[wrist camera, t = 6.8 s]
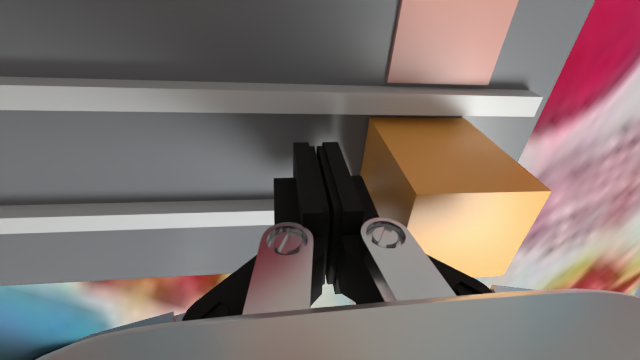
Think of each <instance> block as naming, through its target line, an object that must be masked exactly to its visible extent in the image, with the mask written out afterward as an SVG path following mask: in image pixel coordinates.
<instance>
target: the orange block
mask: <svg viewBox="0 0 640 360" xmlns="http://www.w3.org/2000/svg"><path fill="white" fill-rule="evenodd" d="M360 176H362V178H363V180H364V182H365V185H366V187H367V189H368V192H369V194H370V196H371V199H372V201H373V203H374V206H375V208H376V210H377V213H378V215H379V217H380V218H381V217H383V218H389V219H393V220H395V221H398V222H399V223H401V224H403V225H404V226H405V227H406V228H407V229H408V230H409V232H410V233H411V234H412V236H413V237H414V238H415V240H416V241H417V242H418V244H419V245H420V246H421V248H422V249H423V251H424V252H425V253H426V254H427V255H429V256H431V257H433V258H435V259H437V260H439V261H441V262H443V263H445V264H447V265H449V266H451V267H453V268H455V269H457V270H459V271H461V272H462V273H464V274H466V275H468V276H470V277H472V278H473V277H489V276H503V274H504V273H505V271H506V269H507V267H508V266H509V264H510V262H511V261H512V259H513V257H514V255H515V254H516V252H517V250H518V249H519V247H520V245H521V243H522V242H523V240H524V238H525V236H526V235H527V233H528V231H529V230H530V228H531V226H532V224H533V223H534V221H535V219H536V218H537V216H538V214H539V212H540V211H541V209H542V207H543V205H544V204H545V202H546V200H547V199H548V197H549V195H550V193H551V192H552V191H551V190H550V189H549V188H547V187H546V186H545V185H544V184H543V183H541V182H540V181H539V180H538V179H537V178H535V177H534V176H533V175H532V174H531V173H529V172H528V171H527V170H526V169H525V168H523V167H522V166H521V165H520V164H519V163H518V162H516V161H515V160H514V159H513V158H512V157H510V156H509V155H508V154H507V153H506V152H504V151H503V150H502V149H501V148H500V147H498V146H497V145H496V144H495V143H494V142H492V141H491V140H490V139H489V138H488V137H486V136H485V135H484V134H483V133H482V132H481V131H479V130H478V129H477V128H476V127H475V126H473V125H472V124H471V123H470V122H469V121H467V120H466V119H465V118H391V117H370V118H369V124H368V130H367V137H366V143H365V149H364V155H363V161H362V167H361V174H360Z"/></svg>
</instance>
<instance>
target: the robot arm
mask: <svg viewBox="0 0 640 360" xmlns="http://www.w3.org/2000/svg"><path fill="white" fill-rule="evenodd" d="M325 274H326V280H327V284H333V286H334V291H335V294H343V295H345V296H346V297H348V298H349V299H350V305H345V306H334V307H322V308H312V309H310V306H311V305H312V304H313V303H314V302H315V301H316V300H317V298H318V297H319V296H320V295H321V294H322V285H323V284H325ZM35 360H640V297H638V296H634V295H630V294H625V293H620V292H613V291H605V290H594V289H546V290H531V289H523V288H514V287H506V286H497V285H492V286H491V288H490V289H489V288H488V287H487V286H486V285H484V284H483V283H481V282H480V281H478V280H476V279H474V278H472V277H470V276H468V275H466V274H464V273H462V272H461V271H459V270H457V269H455V268H453V267H451V266H449V265H447V264H445V263H443V262H441V261H439V260H437V259H435V258H433V257H431V256H429V255H427V254H426V253H425V252H424V251H423V249H422V248H421V246H420V245H419V244H418V242H417V241H416V240H415V238H414V237H413V236H412V234H411V233H410V232H409V230H408V229H407V228H406V227H405V226H404V225H403V224H401V223H399V222H398V221H395V220H393V219H389V218H383V217H381V218H380V217H379V215H378V213H377V210H376V208H375V206H374V203H373V201H372V199H371V196H370V194H369V192H368V189H367V187H366V185H365V182H364V180H363V178H362V176H360V175H354V176H351V175H350V172H349V170H348V167H347V164H346V162H345V159H344V156H343V154H342V151H341V148H340V146H339V143H338V142H322V146H317V149H316V151H315V147H314V146H309V143H308V142H293V177H292V178H274V225H273V226H271V227H270V228H268V229H267V230H266V231H265V232H264V233H263V235H262V237H261V241H260V245H259V249H258V253H257V255H256V256H254V257H253V258H252V259H250V260H249V261H248V262H247V263H245V264H244V265H243V266H241V267H240V268H239V269H238V270H236V271H235V272H234V273H232V274H231V275H230V276H229V277H227V278H226V279H225V280H223V281H222V282H221V283H220V284H218V285H217V286H216V287H214V288H213V289H212V290H210V291H209V292H208V293H207V294H205V295H204V296H203V297H201V298H200V299H199V300H198V301H196V302H195V303H194V304H193V305H192V306H191V307H190V308H189V309H188V310H187V312H186V313H183V314H179V315H176V316H175V314H174V312H170V313H167V314H163V315H160V316H156V317H152V318H149V319H145V320H142V321H138V322H134V323H131V324H127V325H123V326H120V327H116V328H113V329H109V330H105V331H102V332H98V333H95V334H91V335H89V336H86V337H84V338H81V339H79V340H78V341H76V342H75V343H73V344H71V345H68V346H66V347H63V348H61V349H58V350H56V351H53V352H51V353H48V354H46V355H44V356H42V357H40V358H38V359H35Z"/></svg>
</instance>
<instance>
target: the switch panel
mask: <svg viewBox="0 0 640 360" xmlns="http://www.w3.org/2000/svg"><path fill="white" fill-rule="evenodd" d="M594 1H595V0H0V286H7V285H26V284H44V283H63V282H81V281H100V280H118V279H137V278H155V277H174V276H192V275H211V274H229V273H234V272H235V271H236V270H238V269H239V268H240V267H241V266H243V265H244V264H245V263H247V262H248V261H249V260H250V259H252V258H253V257H254V256H256V255H257V253H258V249H259V245H260V241H261V237H262V235H263V233H264V232H265V231H266V230H267V229H268V228H270V227H271V226H273V225H274V178H292V177H293V142H308V143H309V146H314V147H315V151H316V149H317V146H322V142H338V143H339V146H340V148H341V151H342V154H343V156H344V159H345V162H346V164H347V167H348V170H349V172H350V175H351V176H354V175H360V174H361V167H362V161H363V155H364V149H365V143H366V137H367V130H368V124H369V118H370V117H391V118H465V119H466V120H467V121H469V122H470V123H471V124H472V125H473V126H475V127H476V128H477V129H478V130H479V131H481V132H482V133H483V134H484V135H485V136H486V137H488V138H489V139H490V140H491V141H492V142H494V143H495V144H496V145H497V146H498V147H500V148H501V149H502V150H503V151H504V152H506V153H507V154H508V155H509V156H510V157H512V158H513V159H514V160H515V161H516V162H518V160H519V158H520V156H521V154H522V152H523V150H524V148H525V146H526V144H527V141H528V139H529V137H530V135H531V133H532V131H533V129H534V127H535V125H536V123H537V120H538V118H539V116H540V114H541V112H542V110H543V108H544V106H545V104H546V102H547V100H548V97H549V95H550V93H551V91H552V89H553V87H554V85H555V83H556V81H557V79H558V76H559V74H560V72H561V70H562V68H563V66H564V64H565V62H566V60H567V58H568V56H569V53H570V51H571V49H572V47H573V45H574V43H575V41H576V39H577V37H578V35H579V32H580V30H581V28H582V26H583V24H584V22H585V20H586V18H587V16H588V14H589V12H590V9H591V7H592V5H593V3H594Z"/></svg>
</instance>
